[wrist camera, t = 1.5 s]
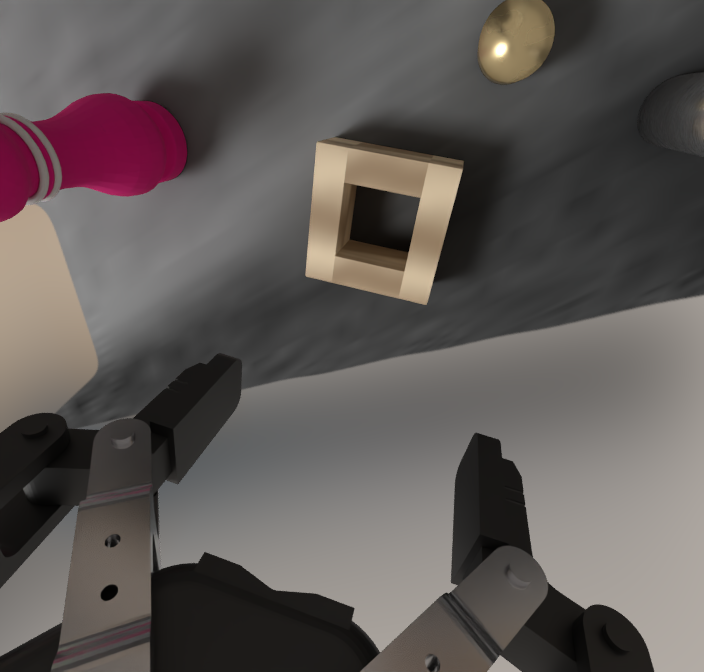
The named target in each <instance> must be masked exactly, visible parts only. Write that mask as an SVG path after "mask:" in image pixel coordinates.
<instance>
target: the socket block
mask: <svg viewBox="0 0 704 672" xmlns="http://www.w3.org/2000/svg"><path fill="white" fill-rule="evenodd" d="M463 163H464V161H462V160H456V159H451V158H445V157H440V156H435V155H429V154H424V153H418V152H413V151H408V150H402V149H397V148H391V147H386V146H381V145H375V144H370V143H364V142H359V141H353V140H348V139H343V138H337V137H334V138H330V139H326V140H322V141H318V142H317V145H316V157H315V169H314V181H313V193H312V205H311V216H310V228H309V240H308V252H307V264H306V276H307V277H311V278H315V279H319V280H324V281H328V282H332V283H336V284H340V285H345V286H349V287H353V288H357V289H361V290H366V291H370V292H374V293H378V294H382V295H387V296H391V297H395V298H399V299H404V300H408V301H412V302H416V303H420V304H425V305H427V302H428V298H429V294H430V290H431V287H432V283H433V279H434V276H435V272H436V268H437V264H438V261H439V257H440V253H441V249H442V246H443V242H444V238H445V234H446V231H447V227H448V223H449V219H450V216H451V212H452V208H453V205H454V201H455V197H456V193H457V190H458V186H459V182H460V178H461V175H462V171H463ZM357 185H359V186H364V187H369V188H374V189H379V190H384V191H389V192H394V193H399V194H404V195H409V196H414V197H419V198H421V200H420V204H419V209H418V213H417V218H416V222H415V226H414V231H413V235H412V240H411V244H410V249H409V253H408V252H404V251H399V250H395V249H390V248H386V247H381V246H376V245H372V244H367V243H363V242H358V241H354V240H350V233H351V225H352V218H353V211H354V204H355V197H356V190H357Z"/></svg>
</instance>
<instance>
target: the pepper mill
mask: <svg viewBox="0 0 704 672" xmlns="http://www.w3.org/2000/svg"><path fill="white" fill-rule="evenodd" d="M186 159H187V145H186V140H185V136H184V134H183V131H182V129H181V127H180V125H179V124H178V122H177V120H176V119H175V118H174V117H173V115H172V114H171V113H170V112H169V111H167V110H166V109H165V108H164V107H162V106H161V105H159V104H156V103H154V102H150V101H131V100H129V99H127V98H126V97H123V96H120V95H117V94H111V93H102V94H93V95H89V96H86V97H83V98H81V99H79V100H77V101H75V102H73V103H71V104H70V105H69V106H67V107H66V108H65V109H64V110H62V111H61V112H60V113H58V114H57V115H55V116H54V117H52V118H49V119H47V120H42V121H35V122H30V121H29V120H27V119H25V118H24V117H22V116H19V115H17V114H13V113H1V114H0V222H2V221H5V220H7V219H10V218H12V217H13V216H15V215H16V214H18V213H19V212H20V211H21V210H22V209H23V208H24V206H25V205H33V204H36V203H38V202H45V201H49V200H51V199H53V198H54V197H55V196H56V195H57V194H58V192H59V190H61V189H64V188H73V187H87V188H90V189H94V190H97V191H100V192H103V193H106V194H110V195H117V196H134V195H140V194H144V193H147V192H149V191H150V190H152V189H154V188H155V186H156V185H157V184H158V183H160V182H164V181H168V180H171V179H174V178H176V177H177V176H178V175H179V174H180V173H181V172H182V170H183V168H184V166H185V164H186Z"/></svg>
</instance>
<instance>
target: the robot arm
mask: <svg viewBox="0 0 704 672" xmlns="http://www.w3.org/2000/svg"><path fill="white" fill-rule="evenodd" d="M241 378H242V361H241V360H240V359H238V358H234V357H231V356H228V355H225V354H221V353H219V354H217V355H216V356H215V357H214V358H213V359H212V360H211V361H210V362H209V363H208V364H207V365H206V364H203V363H198V364H196V365H194V366H192V367H190V368H188V369H185V370H184V371H183V372H182V373H181V374H180V375H179V376H178V377H177V378H176V379H175V381H173V382H172V383H170V384H169V385H168V386H167V388H166V389H164V390H163V391H162V392H161V393H160V394H159V395H158V396H156V397H155V398H154V399H153V400H152V401H151V402H150V403H149V404H148V405H147V406H146V407H145V408H144V409H143V410H141V411H140V412H139V413H138V414H137V415H136V416H135V417H134V418H133V419H132V418H129V419H128V418H127V419H120V420H116V421H114V422H111V423H109V424H107V425H105V426H104V427H103V428H101V429H100V430H85V429H68V427H67V423H66V421H65V419H64V418H63V417H62V416H60V415H57V414H53V413H39V414H34V415H30V416H27V417H25V418H22V419H20V420H18V421H16V422H15V423H13V424H12V425H11V426H9V427H8V428H7V429H5V430H4V431H3V432H1V433H0V588H1V587H2V586H3V585H4V584H5V583H6V581H7V580H8V579H9V578H10V577H11V576H12V575H13V574H14V572H15V571H16V570H17V569H18V568H19V567H20V566H21V565H22V564H23V562H24V561H25V560H26V559H27V558H28V557H29V556H30V555H31V554H32V552H33V551H34V550H35V549H36V548H37V547H38V546H39V545H40V544H41V542H42V541H43V540H44V539H45V538H46V537H47V536H48V535H49V533H51V531H52V530H53V529H54V528H55V527H56V526H57V525H58V524H59V522H60V521H61V520H62V519H63V518H64V517H65V516H66V515H67V514H68V513H69V511H70V510H71V509H72V508H73V507H74V506H75V505H76V506H79V508H78V514H77V522H76V529H75V536H74V542H73V550H72V557H71V564H70V571H69V578H68V585H67V592H66V599H65V607H64V613H63V620H62V623H60V624H59V625H57V626H55V627H53V628H51V629H49V630H48V631H46V632H44V633H42V634H40V635H39V636H37V637H35V638H33V639H31V640H29V641H28V642H26V643H24V644H22V645H20V646H19V647H17V648H15V649H13V650H11V651H9V652H8V653H6V654H4V655H2V656H0V672H487V671H488V670H489V668H490V667H491V666H492V665H493V663H494V662H495V661H496V660H497V658H498V657H499V655H501V656H502V657H504V658H505V659H506V660H508V661H509V662H510V663H511V664H513V665H514V666H515V667H517V668H518V669H519V670H520V671H522V672H654V669H653V666H652V662H651V658H650V655H649V652H648V649H647V646H646V644H645V642H644V640H643V638H642V636H641V635H640V633H639V632H638V631H637V629H636V628H635V627H634V626H633V624H632V623H631V622H630V621H629V620H628V619H627V618H625V617H624V616H623V615H622V614H620V613H619V612H617V611H616V610H614V609H612V608H610V607H607V606H604V605H592V606H590V607H588V608H587V609H586V610H585V609H584V608H582V607H581V606H579V605H578V604H576V603H575V602H573V601H572V600H570V599H569V598H567V597H566V596H564V595H563V594H561V593H560V592H559V591H557V590H556V589H555V588H553V587H552V586H551V585H550V584H549V583H548V582H547V579H546V576H545V574H544V572H543V570H542V568H541V566H540V565H539V564H538V562H537V561H536V560H535V559H534V558H533V556H532V550H531V542H530V535H529V528H528V522H527V514H526V507H525V500H524V495H523V484H522V477H521V475H520V473H519V471H518V470H517V468H516V466H515V464H514V463H513V461H510V460H507V459H503V458H502V453H501V443H500V441H499V440H498V439H495V438H492V437H488V436H485V435H482V434H479V433H475V434H474V435H473V437H472V439H471V441H470V443H469V445H468V448H467V450H466V452H465V454H464V456H463V458H462V460H461V462H460V465H459V467H458V470H457V474H456V479H455V495H454V498H455V499H454V520H453V545H452V546H453V547H452V570H451V583H453V584H456V585H458V586H457V587H456V588H455V589H454V590H453V591H452V592H450V593H449V594H448V593H445V594H443V595H442V596H441V597H439V598H438V599H437V600H436V601H435V602H434V603H433V604H432V605H431V606H430V607H429V608H428V609H427V610H425V611H424V612H423V613H422V614H421V615H420V616H419V617H418V618H417V619H416V620H415V621H414V622H413V623H411V624H410V625H409V626H408V627H407V628H406V629H405V630H404V631H403V632H402V633H401V634H400V635H399V636H398V637H397V638H396V639H394V641H392V642H391V643H390V644H389V645H388V646H387V647H386V648H385V649H384V650H383V651H382V652H379V650H378V648H377V647H376V645H375V644H374V642H373V641H372V640H371V639H370V638H369V636H368V635H367V634H366V633H365V632H364V631H363V630H362V629H361V628H360V627H359V626H358V625H357V624H355V623H354V622H353V621H352V617H353V612H354V608H353V607H350V606H347V605H345V604H342V603H339V602H337V601H334V600H331V599H329V598H326V597H323V596H321V595H318V594H312V593H299V592H287V591H276V590H273V589H271V588H269V587H268V586H267V585H265V584H264V583H263V582H261V581H260V580H259V579H258V578H256V577H255V576H254V575H252V574H251V573H250V572H248V571H247V570H246V569H244V568H243V567H242V566H240V565H238V564H235V563H233V562H230V561H227V560H224V559H222V558H219V557H217V556H214V555H211V554H209V553H206V552H204V554H203V556H202V557H201V559H200V561H199V563H188V564H179V565H174V566H170V567H167V568H163V569H162V565H161V552H160V525H159V493H158V489H159V488H160V486H161V485H162V484H163V483H164V482H165V480H167V481H170V482H173V483H176V484H179V482H180V481H181V480H182V478H183V477H184V476H185V474H186V473H187V472H188V470H189V469H190V468H191V467H192V465H193V464H194V463H195V462H196V460H197V459H198V457H199V456H200V455H201V454H202V452H203V451H204V450H205V449H206V447H207V446H208V445H209V443H210V442H211V441H212V439H213V438H214V437H215V436H216V434H217V433H218V432H219V430H220V429H221V428H222V426H223V425H224V424H225V423H226V421H227V420H228V419H229V417H230V416H231V415H232V413H233V412H234V411H235V409H236V407H237V405H238V403H239V400H240V396H241Z"/></svg>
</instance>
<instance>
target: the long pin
mask: <svg viewBox="0 0 704 672" xmlns="http://www.w3.org/2000/svg"><path fill="white" fill-rule="evenodd" d="M637 125H638V130H639V133H640V135H641V136H642V138H643V139H644V140H645V141H646V142H648V143H650V144H652V145H655V146H660V147H664V148H668V149H672V150H677V151H681V152H685V153H689V154H694V155H698V156H702V157H704V72H701V73H693V74H685V75H679V76H675V77H672V78H670V79H668V80H666V81H664V82H662V83H661V84H660V85H658V86H657V87H656V88H655V89H653V90H652V91H651V92H650V94H649V95H648V96H647V97H646V99H645V100H644V102H643V104H642V106H641V108H640V110H639V114H638V120H637Z"/></svg>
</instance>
